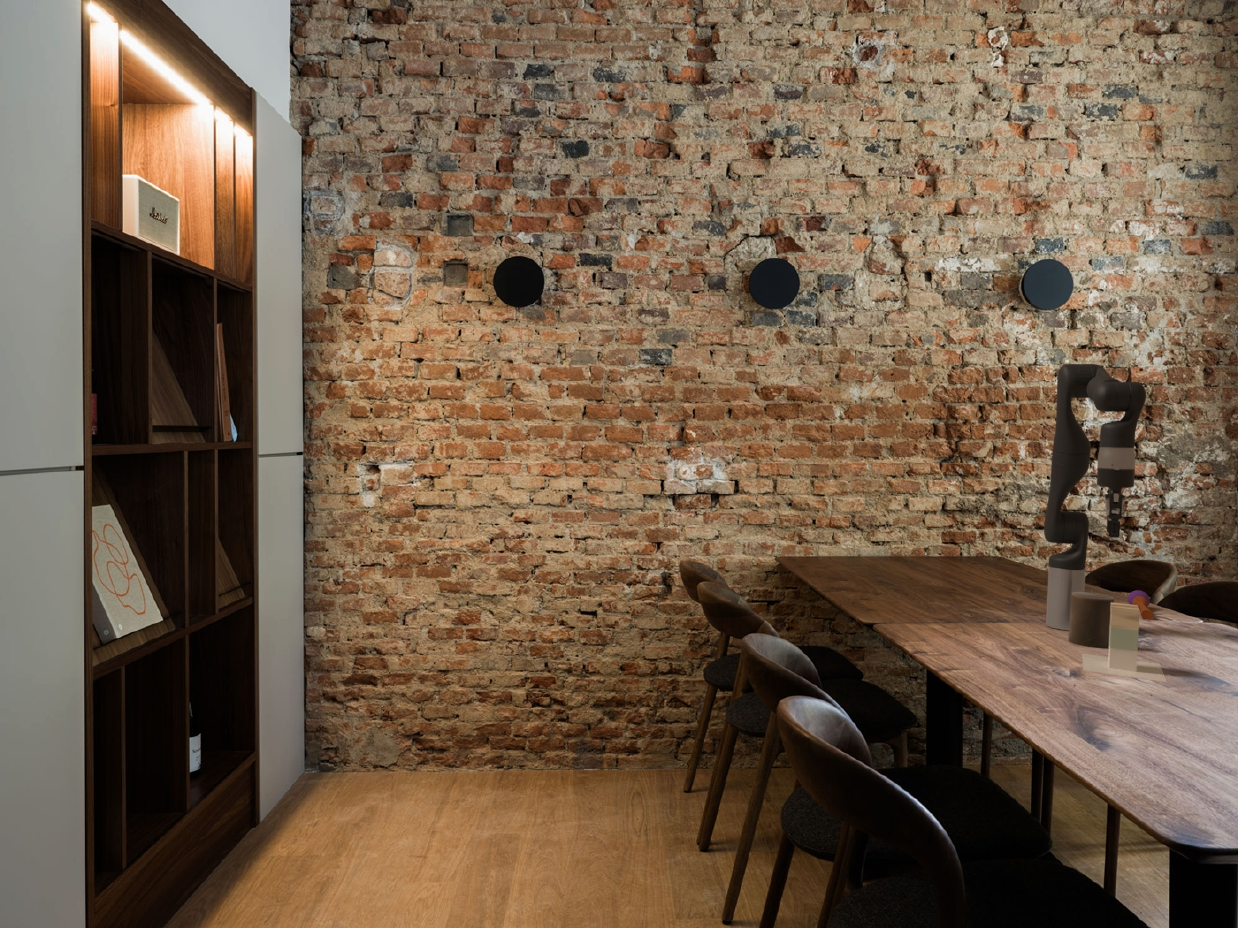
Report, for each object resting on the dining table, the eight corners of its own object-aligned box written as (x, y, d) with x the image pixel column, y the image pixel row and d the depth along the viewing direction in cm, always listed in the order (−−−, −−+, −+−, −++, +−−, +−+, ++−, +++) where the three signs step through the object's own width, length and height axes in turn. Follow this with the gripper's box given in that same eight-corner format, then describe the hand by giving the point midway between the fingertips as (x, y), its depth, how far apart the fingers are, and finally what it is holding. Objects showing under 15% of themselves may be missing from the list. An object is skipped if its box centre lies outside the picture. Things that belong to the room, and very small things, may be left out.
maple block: (1109, 622, 193) (1110, 602, 193) (1136, 625, 190) (1137, 605, 190) (1111, 627, 188) (1111, 606, 188) (1138, 630, 185) (1139, 609, 185)
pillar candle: (1090, 653, 205) (1093, 594, 204) (1059, 643, 214) (1062, 587, 214) (1120, 651, 207) (1124, 593, 207) (1089, 641, 217) (1092, 586, 216)
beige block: (1108, 662, 193) (1109, 642, 193) (1134, 665, 191) (1135, 645, 190) (1109, 668, 188) (1110, 647, 188) (1136, 671, 186) (1137, 651, 186)
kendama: (1134, 606, 244) (1124, 589, 262) (1137, 625, 244) (1127, 607, 262) (1157, 604, 242) (1146, 587, 260) (1160, 624, 242) (1149, 605, 260)
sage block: (1108, 642, 193) (1109, 622, 193) (1135, 645, 190) (1136, 625, 190) (1109, 647, 188) (1110, 627, 188) (1137, 651, 186) (1138, 630, 185)
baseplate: (1081, 658, 200) (1082, 653, 200) (1159, 668, 193) (1159, 663, 193) (1082, 675, 186) (1083, 670, 186) (1166, 687, 179) (1166, 681, 179)
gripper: (1096, 465, 199) (1093, 530, 200) (1098, 467, 187) (1095, 537, 188) (1132, 466, 196) (1129, 533, 196) (1137, 468, 183) (1133, 540, 184)
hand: (1112, 535), depth 192 cm, fingers open, 8 cm apart
